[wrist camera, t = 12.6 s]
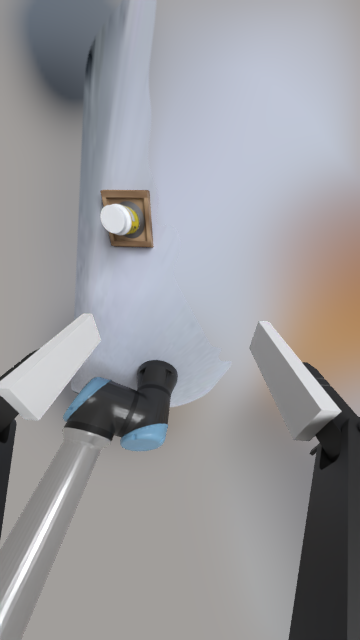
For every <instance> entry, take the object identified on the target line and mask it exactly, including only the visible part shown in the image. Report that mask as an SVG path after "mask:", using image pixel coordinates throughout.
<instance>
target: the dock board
mask: <svg viewBox="0 0 360 640" xmlns="http://www.w3.org/2000/svg"><path fill="white" fill-rule="evenodd" d="M101 196H102V201H103V206H104V207H105V206H107V205H112V204H120V205H123V206H126V207H130V208H132V209H133V210H135V211H136V213H137V214H138V216H139V219H140V226H139V229H138V230H137V231H136V232H135V233H133V234H127V235H117V234H114V233H111V232H109V235H110V240H111V245H112V246H121V247H153V236H152V221H151V207H150V193H149V191H148V190H103V191H101Z"/></svg>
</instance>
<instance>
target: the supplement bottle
mask: <svg viewBox="0 0 360 640" xmlns="http://www.w3.org/2000/svg"><path fill="white" fill-rule="evenodd" d="M100 217H101V222H102V224H103V226H104V227H105V229H106V230H107V231H109V232H111V233H114V234H117V235H127V234H133V233H135V232H136V231H137V230H138V229H139V226H140V219H139V216H138V214H137V213H136V211H135V210H133V209H132V208H130V207H126V206H123V205H120V204H112V205H107V206H105V207H104V208H103V209H102V211H101V215H100Z"/></svg>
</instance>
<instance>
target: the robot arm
mask: <svg viewBox="0 0 360 640" xmlns="http://www.w3.org/2000/svg"><path fill="white" fill-rule="evenodd" d="M100 341H101V338H100V335H99V332H98V329H97V326H96V323H95V320H94V317H93V314H86V313H83V314H82V315H80V316H79V317H78V318H77V319H76V320H74V321H73V322H72V323H71V324H70V325H68V326H67V327H66V328H65V329H63V330H62V331H61V332H60V333H58V334H57V335H56V336H55V337H54V338H52V339H51V340H50V341H49V342H47V343H46V344H45V345H44V346H43V347H41V348H39V349H38V350H36V351H34V352H32V353H30V354H29V355H27V356H26V357H25V358H24V359H22V360H21V362H19V363H17V364H16V365H15V366H14V368H11V369H10V370H8V371H7V372H6V373H5V374H4V375H2V376H1V377H0V537H1V530H2V523H3V516H4V509H5V502H6V494H7V487H8V480H9V473H10V466H11V459H12V452H13V445H14V437H15V431H16V421H15V417H16V416H17V415H18V414H20V415H21V416H22V417H23V418H24V419H26V420H40V418H41V417H42V416H43V414H44V413H45V412H46V411H47V409H48V408H49V407H50V405H51V404H52V403H53V402H54V400H55V399H56V398H57V397H58V395H59V394H60V393H61V391H62V390H63V389H64V388H65V386H66V385H67V384H68V382H69V381H70V380H71V379H72V377H73V376H74V375H75V373H76V372H77V371H78V370H79V368H80V367H81V366H82V364H83V363H84V362H85V361H86V359H87V358H88V357H89V355H90V354H91V353H92V352H93V350H94V349H95V348H96V346H97V345H98V344H99V343H100ZM250 350H251V352H252V355H253V357H254V359H255V361H256V363H257V365H258V367H259V369H260V371H261V373H262V376H263V377H264V380H265V382H266V384H267V386H268V388H269V390H270V392H271V394H272V396H273V398H274V400H275V403H276V405H277V407H278V409H279V411H280V413H281V415H282V417H283V419H284V422H285V424H286V426H287V428H288V430H289V432H290V434H291V436H292V438H293V440H301V441H310V440H311V439H312V438H313V437H314V436H315V435H316V437H317V439H318V440H319V442H320V443H319V444H318V445H317V446H316V447H315V448H313V449H312V450H311V452H310V454H311V455H314V454H315V453H316V459H315V465H314V472H313V479H312V486H311V492H310V500H309V506H308V512H307V519H306V526H305V533H304V539H303V546H302V554H301V560H300V566H299V573H298V580H297V587H296V594H295V601H294V607H293V614H292V620H291V627H290V634H289V640H360V417H358V416H357V415H356V414H355V413H354V412H353V410H352V409H351V408H350V407H349V406H348V405H347V404H346V402H345V401H344V400H343V399H342V398H341V397H340V396H339V394H338V393H337V392H336V391H335V390H334V389H333V388H332V387H331V386H330V384H329V383H328V382H327V381H326V380H325V379H324V377H323V376H322V375H321V374H320V373H319V371H318V370H317V369H315V368H314V367H313V366H311V365H310V364H308V363H305V362H301V361H300V359H299V358H298V357H297V356H296V355H295V353H294V352H293V351H292V350H291V348H290V347H289V346H288V345H287V343H285V341H284V340H283V338H282V337H281V336H280V335H279V334H278V332H277V331H276V330H275V329H274V327H273V326H272V325H271V324H270V322H266V321H264V322H263V321H259V322H258V325H257V327H256V331H255V333H254V337H253V339H252V342H251V345H250ZM177 377H178V374H177V371H176V369H175V368H174V367H173V366H172V365H170V364H168V363H166V362H163V361H158V360H153V361H148V362H145V363H144V364H142V365H141V367H140V369H139V371H138V390H137V391H136V390H133V389H131V388H128V387H125V386H123V385H120V384H118V383H115V382H113V381H112V380H107V379H104V378H101V377H95V378H93V379H92V380H91V381H90V382H89V383H88V384H87V385H86V386H85V387H84V388H83V389H82V390H81V392H80V393H79V394H78V395H77V397H76V398H75V399H74V401H73V402H72V403H71V405H70V407H69V408H68V409H67V411H66V413H65V414H64V416H63V419H64V420H65V421H66V422H67V423H66V425H65V426H64V428H63V436H64V441H63V443H62V445H61V446H60V448H59V450H58V452H57V453H56V455H55V457H54V458H53V460H52V462H51V464H50V465H49V467H48V469H47V471H46V472H45V474H44V476H43V477H42V479H41V481H40V482H39V484H38V486H37V488H36V490H35V491H34V493H33V495H32V496H31V498H30V500H29V501H28V503H27V505H26V507H25V508H24V510H23V512H22V513H21V515H20V517H19V519H18V520H17V522H16V524H15V526H14V527H13V529H12V531H11V532H10V534H9V536H8V538H7V539H6V541H5V543H4V544H3V546H2V548H1V549H0V640H21V639H22V637H23V634H24V632H25V629H26V627H27V624H28V622H29V620H30V617H31V615H32V613H33V610H34V608H35V605H36V603H37V601H38V598H39V596H40V593H41V591H42V589H43V587H44V584H45V582H46V579H47V577H48V575H49V572H50V570H51V568H52V565H53V563H54V561H55V558H56V556H57V553H58V551H59V548H60V546H61V544H62V542H63V539H64V537H65V534H66V532H67V530H68V527H69V525H70V523H71V520H72V518H73V515H74V513H75V511H76V508H77V506H78V503H79V501H80V499H81V496H82V494H83V491H84V489H85V487H86V485H87V482H88V480H89V477H90V475H91V473H92V470H93V468H94V465H95V463H96V461H97V458H98V456H99V454H100V451H101V450H102V449H103V448H105V447H106V446H108V445H109V444H110V443H111V441H112V438H113V436H114V435H116V436H119V437H121V440H120V442H121V446H122V447H123V448H125V449H127V450H131V451H148V450H153V449H156V448H158V447H160V446H161V445H162V444H163V443H164V441H165V437H166V432H167V428H168V416H169V407H170V397H171V394H172V391H173V389H174V387H175V385H176V383H177Z"/></svg>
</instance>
